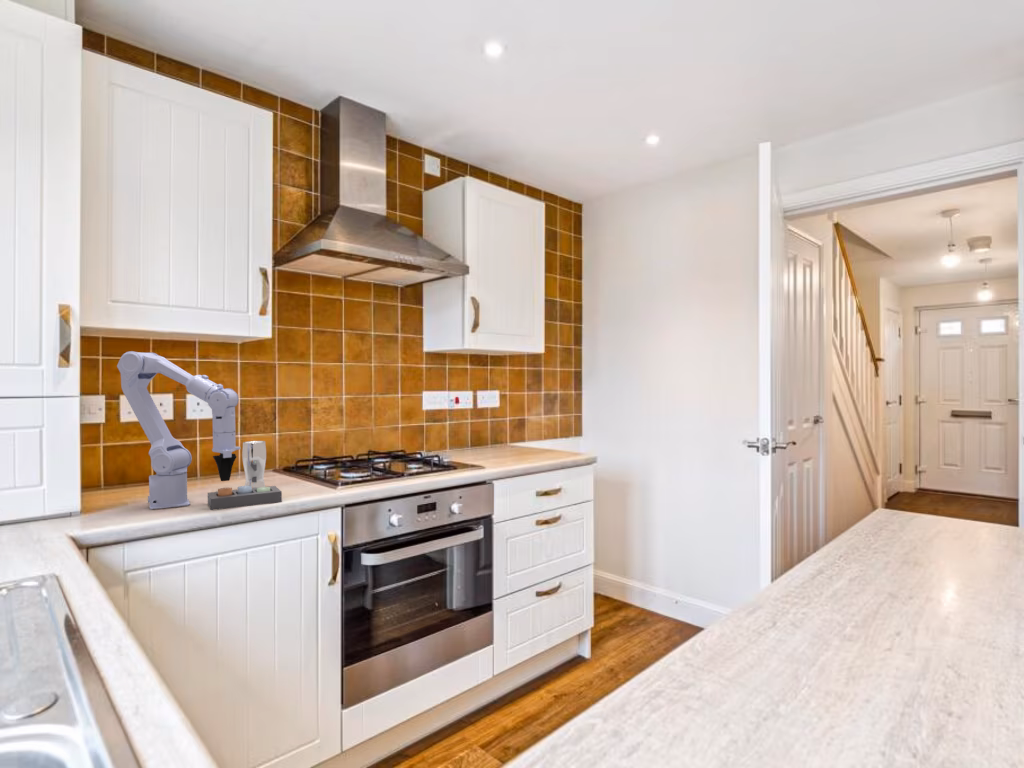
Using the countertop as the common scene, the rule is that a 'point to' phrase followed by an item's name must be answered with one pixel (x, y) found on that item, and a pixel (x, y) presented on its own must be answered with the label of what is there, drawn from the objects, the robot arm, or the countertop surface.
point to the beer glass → (254, 463)
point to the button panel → (244, 498)
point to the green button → (263, 489)
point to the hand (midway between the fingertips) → (225, 480)
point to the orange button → (224, 491)
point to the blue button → (244, 489)
